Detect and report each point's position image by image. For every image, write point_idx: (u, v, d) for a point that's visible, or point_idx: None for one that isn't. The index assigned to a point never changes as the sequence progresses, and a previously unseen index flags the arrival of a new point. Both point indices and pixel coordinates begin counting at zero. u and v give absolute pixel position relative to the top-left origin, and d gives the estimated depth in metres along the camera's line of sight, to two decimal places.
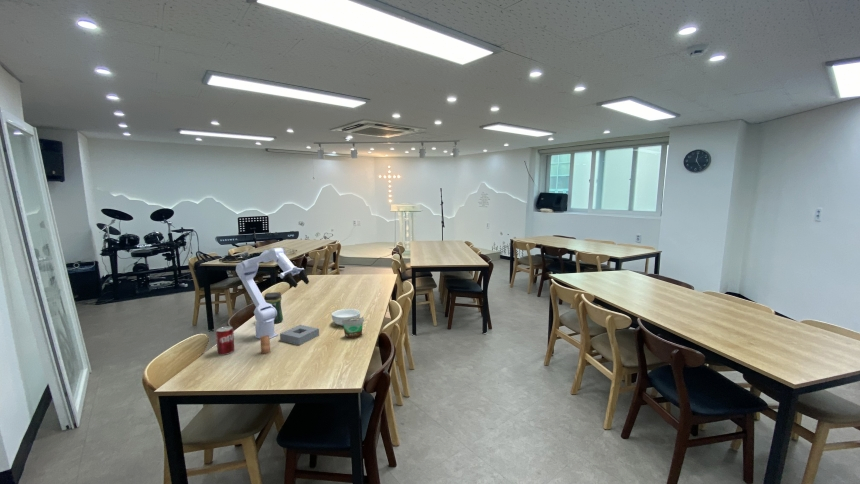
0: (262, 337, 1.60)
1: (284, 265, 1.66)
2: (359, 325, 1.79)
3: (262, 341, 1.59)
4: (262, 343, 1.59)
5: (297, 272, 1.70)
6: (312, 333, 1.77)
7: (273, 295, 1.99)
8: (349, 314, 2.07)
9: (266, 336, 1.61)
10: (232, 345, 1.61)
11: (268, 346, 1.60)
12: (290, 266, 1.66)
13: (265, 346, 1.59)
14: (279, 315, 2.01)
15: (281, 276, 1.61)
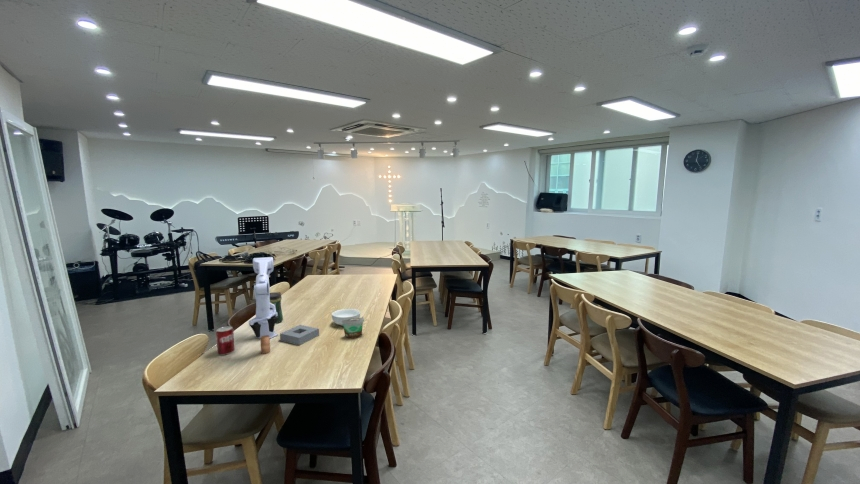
0: (262, 337, 1.60)
1: (260, 310, 1.56)
2: (359, 325, 1.79)
3: (262, 341, 1.59)
4: (262, 343, 1.59)
5: None
6: (312, 333, 1.77)
7: (273, 295, 1.99)
8: (349, 314, 2.07)
9: (266, 336, 1.61)
10: (232, 345, 1.61)
11: (268, 346, 1.60)
12: (265, 314, 1.57)
13: (265, 346, 1.59)
14: (279, 315, 2.01)
15: (250, 323, 1.53)
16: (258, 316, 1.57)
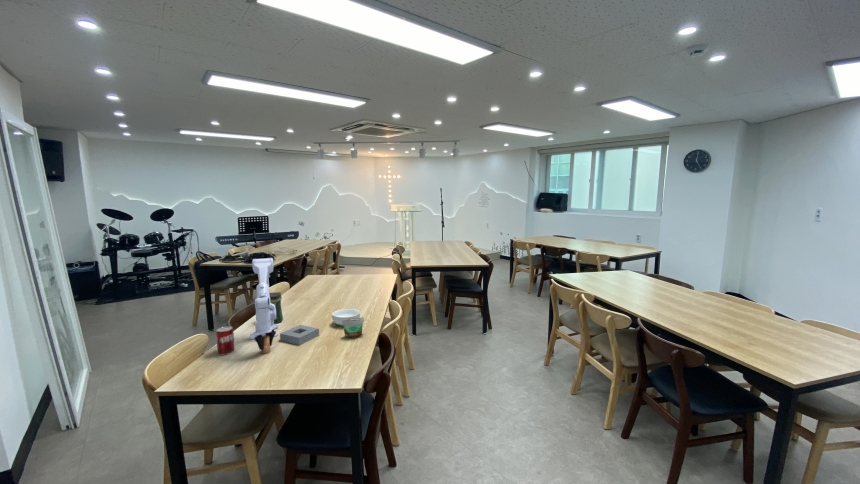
0: None
1: (261, 324, 1.57)
2: (359, 325, 1.79)
3: None
4: None
5: None
6: (312, 333, 1.77)
7: (273, 295, 1.99)
8: (349, 314, 2.07)
9: (266, 336, 1.61)
10: (232, 345, 1.61)
11: (268, 346, 1.60)
12: (266, 328, 1.58)
13: (265, 346, 1.59)
14: (279, 315, 2.01)
15: (251, 337, 1.54)
16: (259, 330, 1.57)
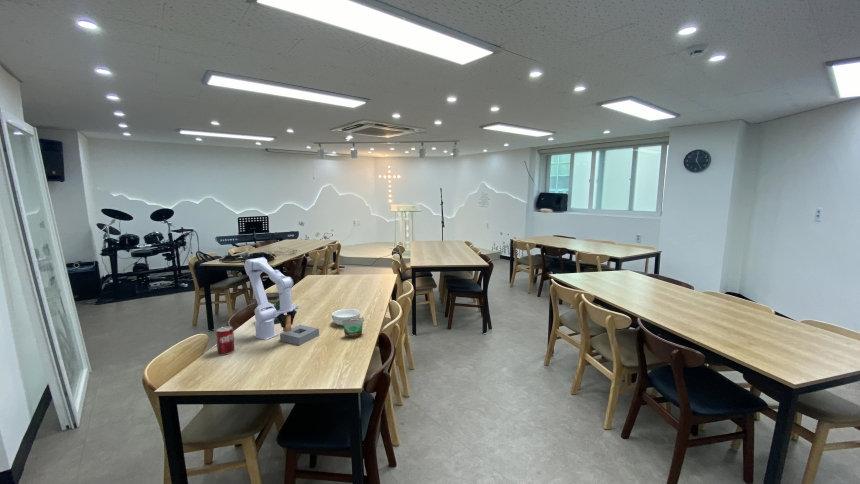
0: None
1: (283, 303, 1.67)
2: (359, 325, 1.79)
3: None
4: None
5: None
6: (312, 333, 1.77)
7: (273, 295, 1.99)
8: (349, 314, 2.07)
9: (288, 315, 1.71)
10: (232, 345, 1.61)
11: (289, 324, 1.70)
12: (288, 307, 1.68)
13: (287, 325, 1.69)
14: None
15: (274, 315, 1.64)
16: (281, 309, 1.67)
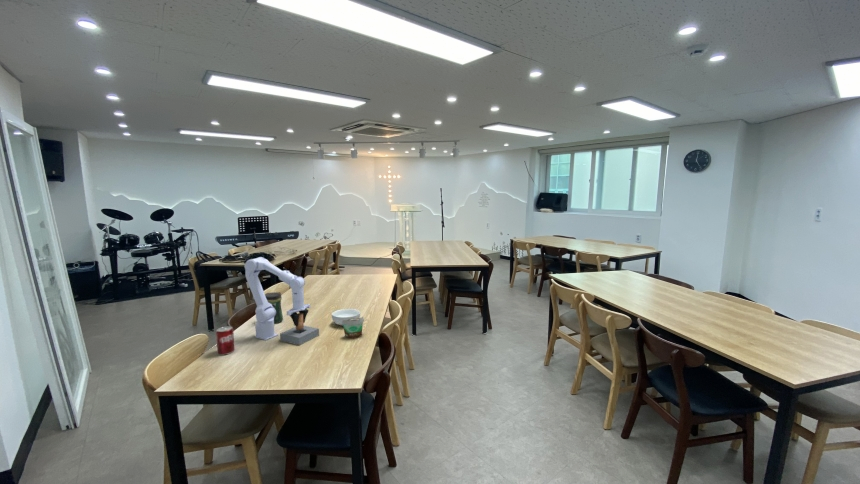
0: None
1: (296, 302, 1.73)
2: (359, 325, 1.79)
3: None
4: None
5: None
6: (312, 333, 1.77)
7: (273, 295, 1.99)
8: (349, 314, 2.07)
9: (300, 314, 1.77)
10: (232, 345, 1.61)
11: (302, 323, 1.77)
12: (301, 306, 1.75)
13: (300, 323, 1.76)
14: (279, 315, 2.01)
15: (287, 314, 1.70)
16: (294, 307, 1.74)
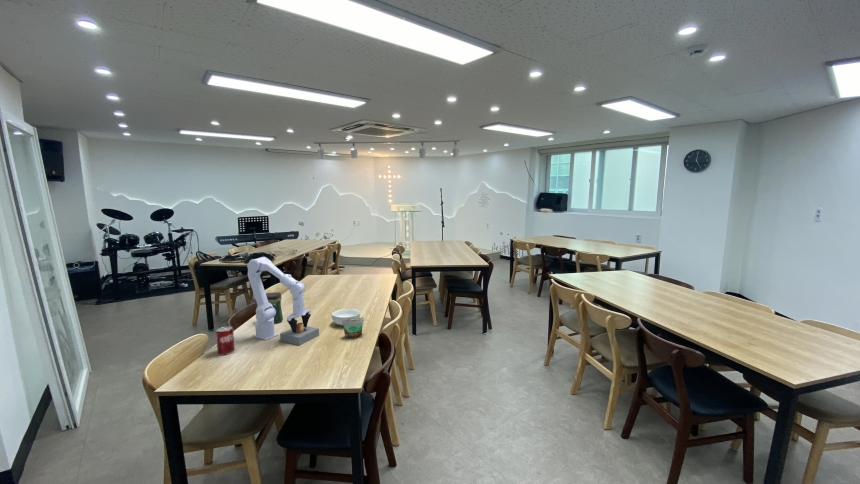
0: (297, 324, 1.77)
1: (296, 307, 1.74)
2: (359, 325, 1.79)
3: (297, 328, 1.76)
4: (297, 329, 1.76)
5: None
6: (312, 333, 1.77)
7: (273, 295, 1.99)
8: (349, 314, 2.07)
9: (300, 323, 1.78)
10: (232, 345, 1.61)
11: None
12: (301, 311, 1.75)
13: None
14: (279, 315, 2.01)
15: (288, 319, 1.71)
16: (294, 313, 1.74)
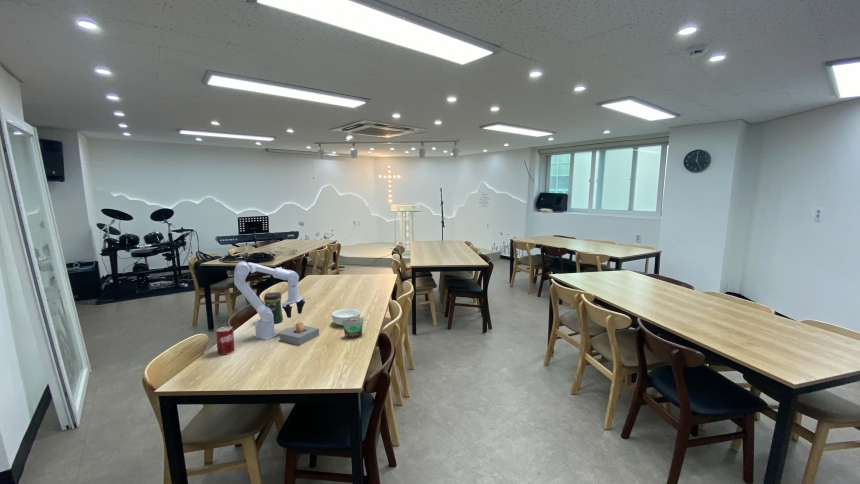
0: (297, 324, 1.77)
1: (291, 294, 1.83)
2: (359, 325, 1.79)
3: (297, 328, 1.76)
4: (297, 329, 1.76)
5: None
6: (312, 333, 1.77)
7: (273, 295, 1.99)
8: (349, 314, 2.07)
9: (300, 323, 1.78)
10: (232, 345, 1.61)
11: None
12: (295, 298, 1.84)
13: None
14: (279, 315, 2.01)
15: (283, 305, 1.80)
16: (289, 299, 1.83)
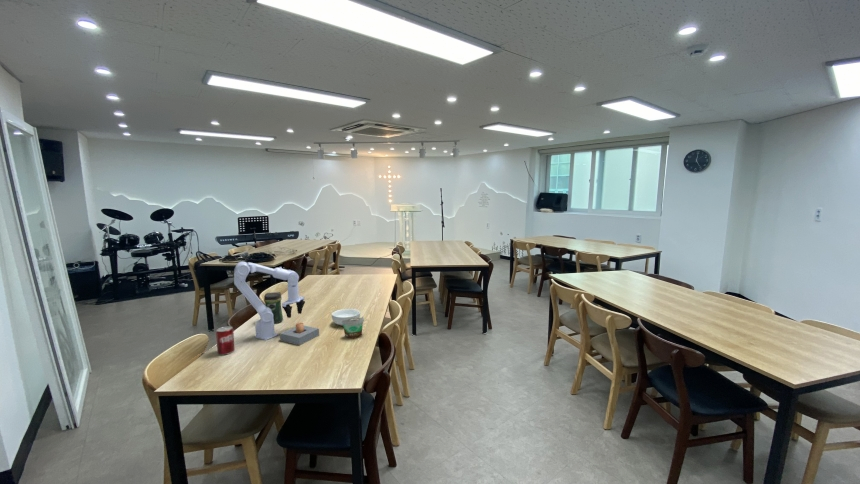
0: (297, 324, 1.77)
1: (291, 294, 1.83)
2: (359, 325, 1.79)
3: (297, 328, 1.76)
4: (297, 329, 1.76)
5: None
6: (312, 333, 1.77)
7: (273, 295, 1.99)
8: (349, 314, 2.07)
9: (300, 323, 1.78)
10: (232, 345, 1.61)
11: None
12: (295, 298, 1.84)
13: None
14: (279, 315, 2.01)
15: (283, 305, 1.80)
16: (289, 299, 1.83)
